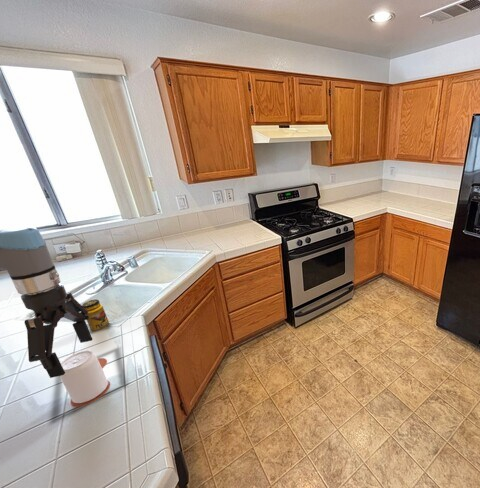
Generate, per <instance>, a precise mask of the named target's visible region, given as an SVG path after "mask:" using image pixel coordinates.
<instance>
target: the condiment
mask: <svg viewBox="0 0 480 488" xmlns="http://www.w3.org/2000/svg"><path fill="white" fill-rule="evenodd" d="M81 305H82V306H83V307H84V308H85V309H86V310H87V311H88V315H85V316H89V319H88V320H86V322H87V325H88V328H89V330H91V331H100V330H102V329H104V328H106V327H107V326H108V325H109V324H110V321H109V319H108V316H107V314H106V311H105V309H104V306H103V305H102V304H101V302H100V300H99V299H97V298H96V299H90V300H87V301H85V302H84V303H82V304H81Z"/></svg>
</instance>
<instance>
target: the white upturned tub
mask: <svg viewBox="0 0 480 488" xmlns="http://www.w3.org/2000/svg"><path fill="white" fill-rule="evenodd" d="M98 358H99V357H98V356H97V354H96V353H94V352H93V351H91V350H83V351H79V352H76V353H74V354H71V355H70V356H68V357H66V358H65V359H64V360H62V361H60V363H61V365H62V367H63V369H64V371H65V374H64V375H61V376H59V378H60V380H61V382H62V384H63V386H64V387H65V390H66V392H67V393H68V395H69V397H70V400H71V399H72V401H73V402H74V403H83V402H86V401H89V400H91V399H93V398H95V397H96V396H98V395H99V394H101V393H102V392H103V391H104V390H105V389H106V387H107V385H108V381H109V380H108V379H107V376H106V374H105V372H104V370H103V369H102V367H101V365H100V363H99V361H98Z"/></svg>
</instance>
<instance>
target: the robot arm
mask: <svg viewBox="0 0 480 488" xmlns="http://www.w3.org/2000/svg"><path fill="white" fill-rule="evenodd" d="M2 271H7V273H8V275H9V277H10V279H11V281H12V284H13V285H14V287H15V290H16V292H17V293H18V294H19V295H20V299H21V301H22V303H23V305H24V307H25V308H26V310H31V311H33V312H34V316H33V317H32V318H28V319H25V320H24V325H25V326H24V327H25V329H26V335H27V336H26V337H27V354H28V362H29V363H34V362H39V361H40V364H41V365H42V367H43V369H44V370H45V371H46V372H47V374H48V377H49V378H50V379H53V378H56V377H60V376H61V375H64V374H65V371H64V369H63V367H62V365H61V361H60V359H59V357H58V355H57V353H56V351H55V352H54V351H53V345H54V339H55V329H56V328H57V327H58V323H59V322H60V320H61V319H63V318H64V319H66V320H68V321H71V322H74V323H72V324H71V325H72V327H73V329H74V332H75V334H76V336H77V338H78V340H79V343H80V344H81V343H82V344H83V343H87V342H91V341H93V336H92V334H91V332H90V328H89V326H88V323H86V322H87V320H88V319H89V316H85V315H88V311H87V310H86V309H85V308H84V307H83V306H82V305H83V304H81V303H80V302H79V301H78V300H76V299H75V297H74V296H73V294H72V292H67V290H66V288H65V286H64V284H63V283H61V282H62V280H61V278H60V274H59V273H58V270H57V269H56V266H55V264H54V262H53V260H52V257H51V254H50V252H49V250H48V246H47V242H46V240H45V239H44V238H43V236H42V234H41V232H40V231H39V229H38V228H36V227H35V226H32V225H25V226H17V227H9V228H4V229H1V230H0V272H2ZM44 324H45V325H44Z"/></svg>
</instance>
